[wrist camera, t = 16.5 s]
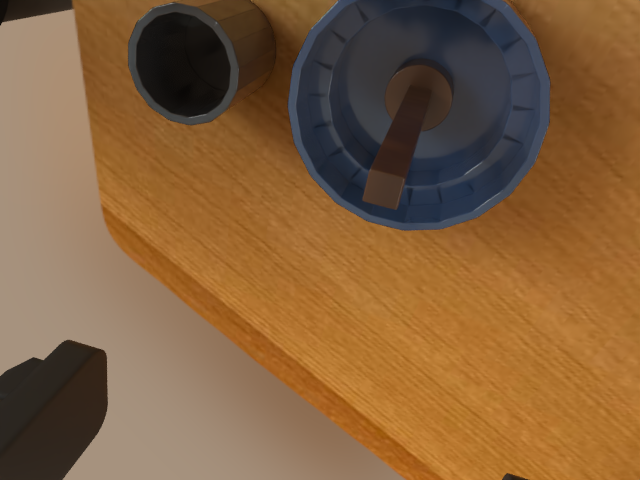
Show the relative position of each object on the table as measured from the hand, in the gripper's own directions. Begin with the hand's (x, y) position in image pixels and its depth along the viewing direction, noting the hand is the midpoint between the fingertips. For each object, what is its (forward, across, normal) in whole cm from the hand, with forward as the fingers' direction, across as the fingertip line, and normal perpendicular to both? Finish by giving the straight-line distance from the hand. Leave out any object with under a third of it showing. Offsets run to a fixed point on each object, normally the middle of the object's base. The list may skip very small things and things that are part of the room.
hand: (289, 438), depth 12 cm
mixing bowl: (+30, 0, 0) cm, 30 cm away
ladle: (+30, 0, 0) cm, 30 cm away
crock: (+30, +13, 0) cm, 33 cm away
